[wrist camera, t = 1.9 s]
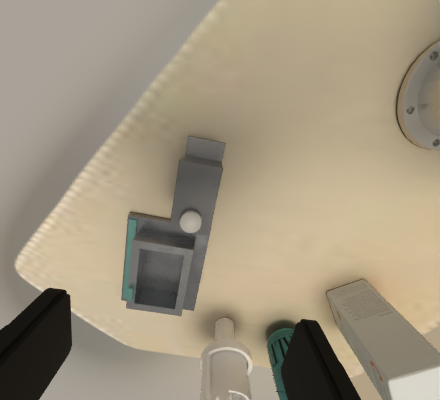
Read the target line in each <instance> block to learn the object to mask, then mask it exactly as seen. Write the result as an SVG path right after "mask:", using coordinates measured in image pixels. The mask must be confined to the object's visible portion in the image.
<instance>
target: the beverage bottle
mask: <svg viewBox="0 0 440 400" xmlns="http://www.w3.org/2000/svg"><path fill="white" fill-rule="evenodd" d="M294 330H295V329H294V328H282V329H279V330H276V331H275V332H273V333H272V334H271V335H270V337H269V338H268V343H267V348H268V352H269V353H268V354H269V358H270V361H271V362H270V363H271V367H272V370H273V374H274V375H273V376H274V378H275V383H276V387H277V391H276V392H278V395H279V398H280V400H288V399H287V395H286V392H285V388H284V384H283V381H282V377H281V366H282V363H283V360H284V358H285V355H286V352H287V349H288V346H289V344H290V341H291V338H292V335H293V333H294Z"/></svg>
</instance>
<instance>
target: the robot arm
mask: <svg viewBox="0 0 440 400" xmlns="http://www.w3.org/2000/svg"><path fill="white" fill-rule="evenodd" d="M397 113H398V121H399V123H400V126H401V129H402V131H403V132H404V134H405V136H406V137H407V138H408V139H409V140H410V141H411V142H412V143H414V144H416V145H417V146H419V147H422V148H425V149H430V150H440V40H439V41H437V42H436V43H434V44H433V45H431V46H430V47H429V48H428V49H427V50H426V51H424V52H423V53H422V54H421V55H420V56H419V58H418V59H417V60H416V61H415V63H414V64H413V65H412V66H411V68H410V70H409V72H408V73H407V75H406V77H405V79H404V81H403V84H402V86H401V89H400V93H399V97H398V106H397ZM71 335H72V334H71V306H70V295H69V294H67V292H66V290H62V289H54V288H48V289H46V290H45V291H44V292H43V293H42V294H41V295H40V296H38V298H36V299H35V300H34V301H33V302H32V303H31V304H30V305H29V306H28V307H27V308H26V309H25V310H24V311H22V312H21V313H20V314H19V315H18V316H17V317H16V318H15V319H14V320H13V321H12V322H11V323H10V324H9V325H6V326H5V327H4V328H2V329H1V330H0V400H39V399H40V397H41V396H42V394H43V393H44V391H45V390H46V388H47V387H48V385H49V384H50V382H51V380H52V379H53V377H54V376H55V374H56V373H57V371H58V370H59V368H60V367H61V365H62V364H63V362H64V361H65V359H66V358H67V356H68V354H69V352H70V350H71V346H72V336H71ZM281 377H282V381H283V384H284V388H285V392H286V395H287V399H288V400H361V399H360V397H359V395H358V393H357V391H356V390H355V388H354V386H353V384H352V382H351V381H350V378H349V377H348V375H347V373H346V371H345V369H344V367H343V366H342V364H341V363H340V362H339V360H338V358H337V357H336V355H335V353H334V351H333V349H332V347H331V345H330V344H329V342H328V340H327V338H326V336H325V334H324V333H323V331H322V329H321V327H320V325H319V323H318V322H317V321H314V320H306V319H302V320H301V321H300V323H299V322H298V323H297V324H296V327H295V330H294V333H293V335H292V338H291V341H290V344H289V346H288V349H287V352H286V355H285V358H284V360H283V363H282V366H281Z"/></svg>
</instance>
